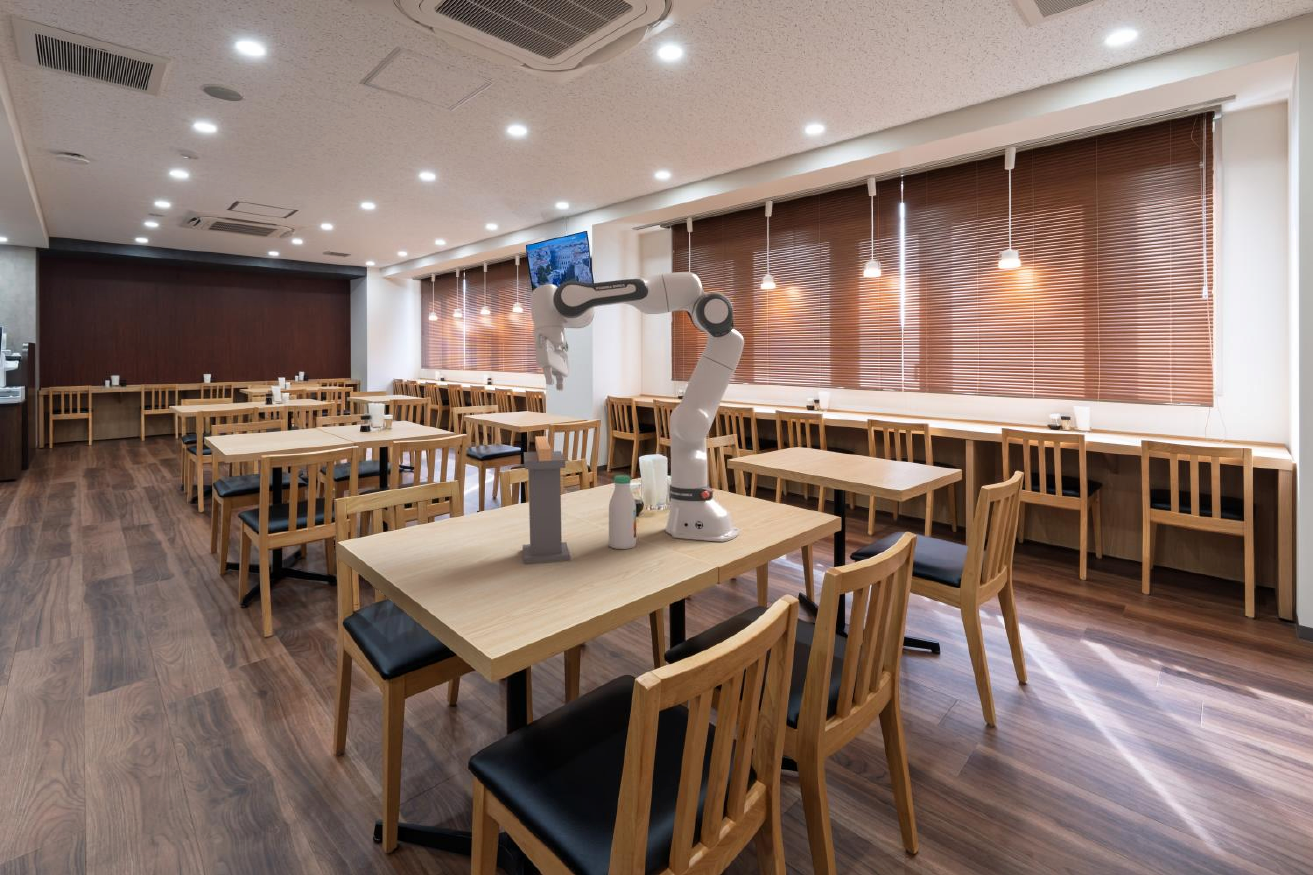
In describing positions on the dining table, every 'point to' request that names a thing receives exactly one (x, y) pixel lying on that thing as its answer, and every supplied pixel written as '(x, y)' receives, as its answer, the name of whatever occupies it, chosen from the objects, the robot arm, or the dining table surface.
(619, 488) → the milk bottle
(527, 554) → the stand
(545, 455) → the bar
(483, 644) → the dining table surface
